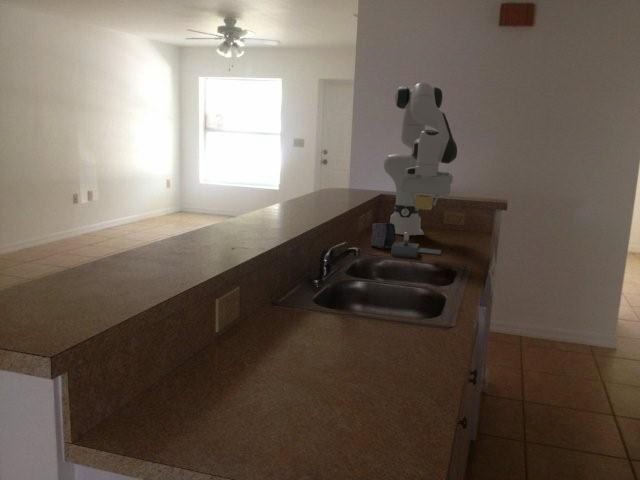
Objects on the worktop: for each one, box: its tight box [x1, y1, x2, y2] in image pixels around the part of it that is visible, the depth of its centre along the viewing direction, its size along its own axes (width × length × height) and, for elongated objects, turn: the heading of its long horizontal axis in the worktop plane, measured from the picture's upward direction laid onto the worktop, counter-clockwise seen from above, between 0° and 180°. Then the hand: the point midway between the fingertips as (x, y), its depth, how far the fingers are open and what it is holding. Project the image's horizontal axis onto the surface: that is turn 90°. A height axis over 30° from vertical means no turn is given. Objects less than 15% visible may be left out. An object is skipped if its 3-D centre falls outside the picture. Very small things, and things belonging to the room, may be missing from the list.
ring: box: [415, 194, 434, 211], centre depth 233 cm, size 6×6×5 cm
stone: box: [370, 222, 397, 250], centre depth 244 cm, size 12×10×10 cm
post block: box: [390, 232, 420, 259], centre depth 231 cm, size 10×10×9 cm
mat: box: [418, 247, 442, 256], centre depth 239 cm, size 9×9×1 cm
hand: (423, 204), depth 233 cm, fingers closed on ring, 6 cm apart
